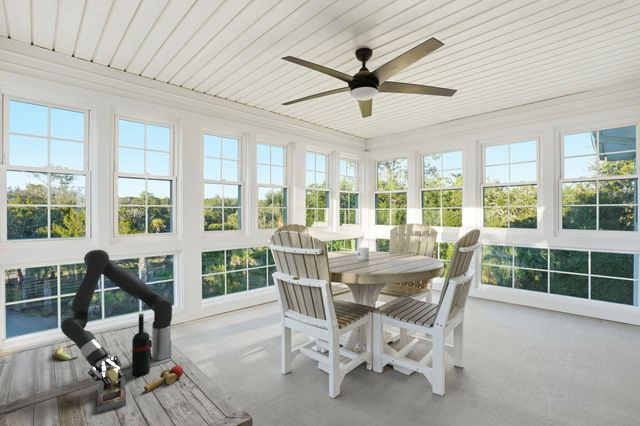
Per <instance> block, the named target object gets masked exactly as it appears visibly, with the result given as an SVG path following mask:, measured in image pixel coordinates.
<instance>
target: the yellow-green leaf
mask: <svg viewBox="0 0 640 426" xmlns="http://www.w3.org/2000/svg"><path fill="white" fill-rule="evenodd" d="M75 346H77V345H76V344H75V343H72V344H70V345H67V346H64V347H63V348H64V349H68V348H71V347H75ZM63 348H62V347H61V348H60V347H59V348H57V349H54V350H52V351H51V352H52V353H54V355H53V356H54V357H55V359H57V360H59V361H64V362H65V361H66V362H67V361H72V360H77V359H78V358H79V357H78V356H75V357H74V356H71V355H69V354H67V353H66V352H64V349H63ZM75 351H77V352H78V350H77V349H75V350H71V351H70V353H71V352H75ZM44 369H46V370H47V371H49V369H47V368H44Z"/></svg>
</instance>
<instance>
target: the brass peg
mask: <svg viewBox="0 0 640 426" xmlns="http://www.w3.org/2000/svg"><path fill="white" fill-rule="evenodd" d="M105 374H106V376H107V377H108V379H109V380H110V381H111V384H110V385H109V386H107V385H106V389H105V390H109V389H113V388H117V387H119V386H118V367H112V366H111V368H108V369H107V370H106V372H105Z"/></svg>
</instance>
